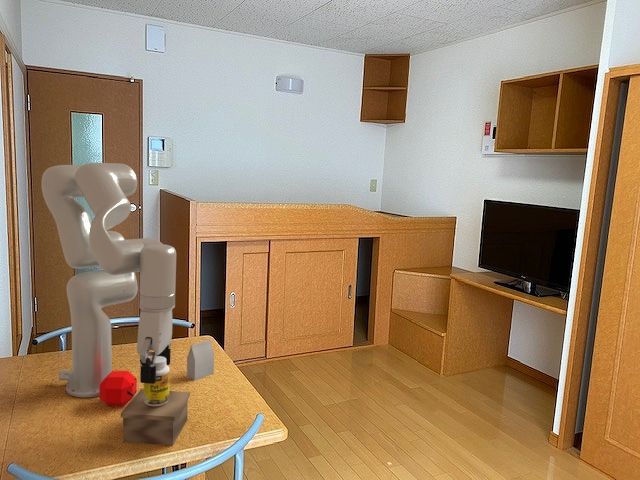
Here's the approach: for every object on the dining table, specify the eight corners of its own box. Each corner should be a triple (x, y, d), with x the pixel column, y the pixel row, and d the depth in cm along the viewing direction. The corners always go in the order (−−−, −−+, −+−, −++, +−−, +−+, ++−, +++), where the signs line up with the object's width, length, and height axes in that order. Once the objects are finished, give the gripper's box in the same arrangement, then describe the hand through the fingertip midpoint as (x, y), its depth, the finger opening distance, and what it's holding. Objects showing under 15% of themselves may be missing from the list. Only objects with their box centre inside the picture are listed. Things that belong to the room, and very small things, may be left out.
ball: (130, 410, 124) (130, 381, 123) (96, 409, 123) (96, 380, 122) (138, 395, 132) (138, 367, 131) (107, 394, 131) (107, 367, 130)
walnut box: (120, 443, 110) (120, 413, 109) (140, 416, 121) (141, 388, 120) (174, 446, 110) (174, 416, 109) (189, 419, 121) (189, 392, 120)
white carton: (213, 373, 148) (214, 341, 146) (194, 380, 142) (195, 347, 141) (205, 370, 150) (206, 337, 148) (186, 376, 145) (187, 343, 143)
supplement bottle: (147, 409, 111) (147, 366, 109) (140, 399, 115) (141, 357, 114) (172, 404, 114) (173, 361, 112) (165, 394, 118) (165, 353, 117)
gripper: (154, 288, 119) (153, 356, 122) (124, 311, 102) (123, 389, 105) (185, 291, 119) (183, 359, 122) (161, 314, 102) (159, 392, 105)
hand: (155, 373), depth 114 cm, fingers open, 9 cm apart
